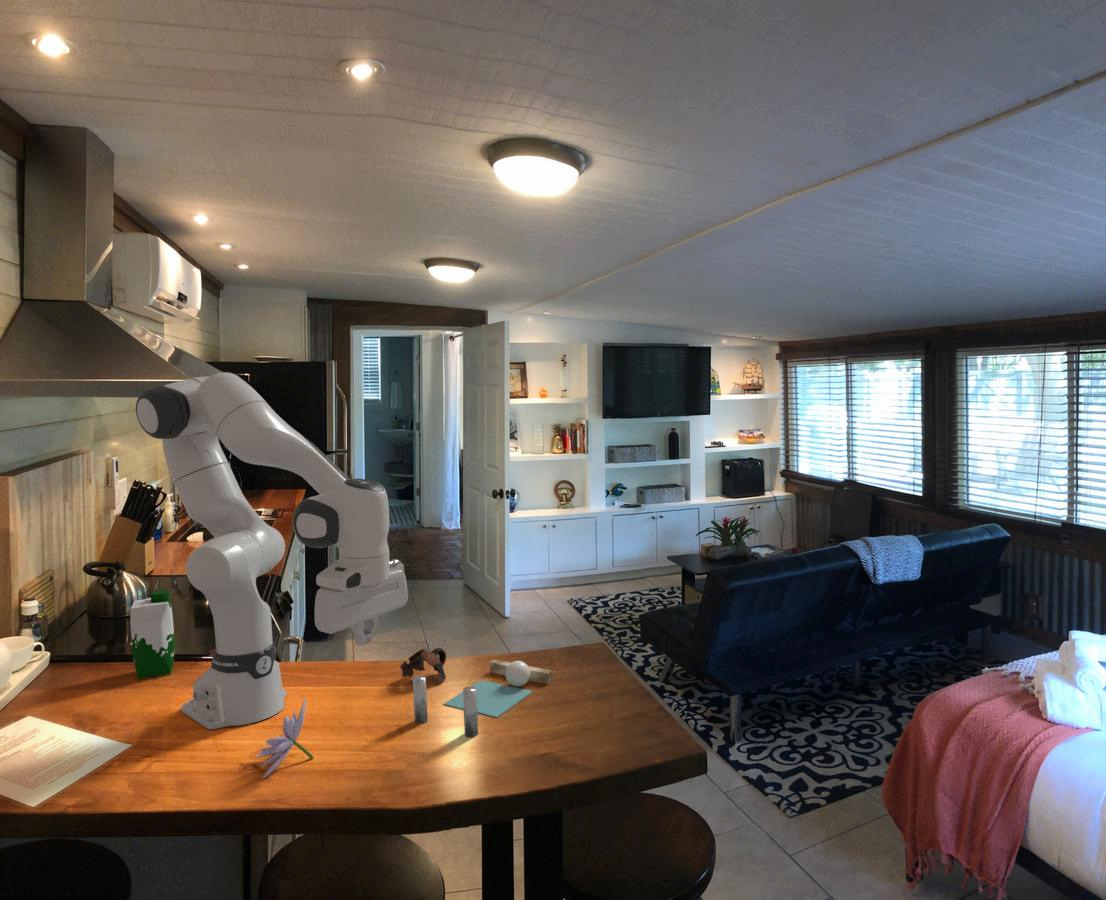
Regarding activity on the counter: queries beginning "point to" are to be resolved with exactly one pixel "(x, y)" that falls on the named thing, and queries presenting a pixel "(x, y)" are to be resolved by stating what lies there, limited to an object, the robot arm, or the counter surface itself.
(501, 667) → the stopper strip
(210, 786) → the counter surface
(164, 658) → the milk carton
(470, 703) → the post
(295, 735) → the water lily
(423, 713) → the post
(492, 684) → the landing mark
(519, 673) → the ball
